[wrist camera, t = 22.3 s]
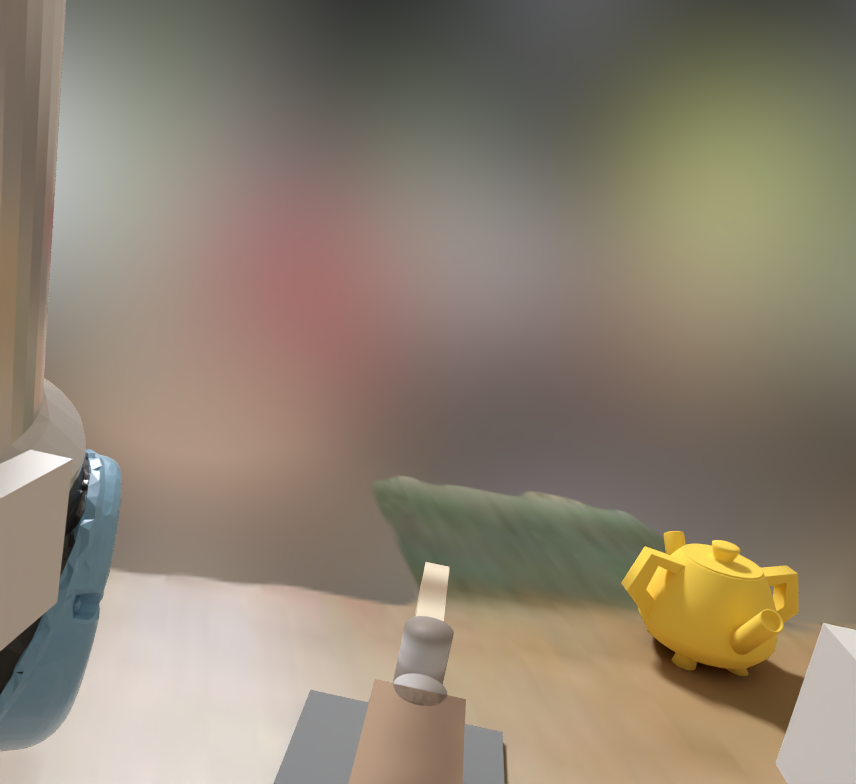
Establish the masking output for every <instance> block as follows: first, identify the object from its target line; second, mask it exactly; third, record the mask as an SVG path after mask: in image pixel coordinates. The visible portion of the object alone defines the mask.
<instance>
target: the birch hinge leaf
mask: <svg viewBox="0 0 856 784" xmlns="http://www.w3.org/2000/svg"><path fill="white" fill-rule="evenodd" d="M448 575H449V567H447V566H442V565H438V564H433V563H428V562H426V564H425V568H424V573H423V578H422V583H421V588H420V592H419V597H418V602H417V607H416V612H415V616H414V617H412V618H409V619H408V620H407V621H406V622H405V627H404V631H403V636H402V641H401V646H400V651H399V656H398V661H397V665H396V670H395V675H394V680H393V683H394V681H395V679H396V678H397V677H399V676H401V675H404V674H411V673H414V674H422V675H426V676H429V677H431V678H433V679H435V680H437V681H438V682H440V683H441V684H443V680H444V675H445V671H446V666H447V662H448V657H449V652H450V648H451V643H452V639H453V634H454V633H453V630H452V628H451V627H450V626H449V625H448V624H446V623H445V622H443V621H444V612H445V603H446V594H447V584H448Z"/></svg>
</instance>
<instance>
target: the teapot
mask: <svg viewBox="0 0 856 784" xmlns="http://www.w3.org/2000/svg"><path fill="white" fill-rule="evenodd" d="M664 541H665V550H666V554H665V553H662V552H659V551H656V550H654V549H651V548H648V547H644V549H643V550H642V552H641V553H640V555H639V556H638V558H637V559H636V561H635V563H634V564H633V566H632V567H631V569H630V570H629V572H628V573H627V575H626V576H625V578H624V579H623V581H622V585H623V586H624V588H625V589H626V590H627V592H628V593H629V595H630V596H631V597H632V599H633V600H634V601H635V603H636V604H637V605H638V609H639V612H640V615H641V617H642V619H643V621H644V623H645V625H646V627H647V629H648V632H649V633H650V634H651V635H653V636H654V637H655V638H656V639H657V640H658V641H659V642H660V643H662V644H663V645H665V646H666V647H668V648H669V649H671V650H673V651H674V652H675V654H674V656H673V657H672V659H671V660H672V662H673V663H674V664H675V665H676V666H678V667H680V668H682V669H685V670H695V669H696V665H697V662H700V663H703V664H706V665H710V666H714V667H718V668H725V669H727V670H728V671H730V672H732V673H734V674H736V675H740V676H747V675H748V670H747V668H749V667H751V666H754V665H756V664H758V663H760V662H762V661H764V660H766V659H767V658H769V657H770V656H771V655H772V653H773V652H774V650H775V647H776V643H777V634H778V633H779V632H781V631H782V630H783V628H784V622H785V621H787V620H788V619H790V618H791V617H793V616H794V615H796V614H797V613H798V573H797V572H795V571H793V570H792V569H791V568H789V567H788V566H777V567H766V568H760V567H759V566H758V565H756V564H755V563H754V562H752V561H750V560H749V559H747V558H745V557H743V556H741V555H739V553H740V551H741V550H740V549H739V548H738V547H737V546H736V545H734V544H732V543H729V542H726V541H721V540H714V541H712V546H710V545H704V544H688V545H686V544H685V538H684V533H683V532H681V531H670V532H666V533H664ZM773 585H774V595H773V596H772V593H771V590H770V587H769V586H773Z"/></svg>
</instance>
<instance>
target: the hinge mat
mask: <svg viewBox="0 0 856 784" xmlns="http://www.w3.org/2000/svg"><path fill="white" fill-rule="evenodd" d="M368 704H369V703H368V702H363V701H359V700H354V699H350V698H345V697H341V696H336V695H332V694H327V693H323V692H318V691H314V690H310V693H309V695H308V698H307V700H306V703H305V705H304V708H303V711H302V713H301V716H300V718H299V721H298V723H297V726H296V728H295V731H294V733H293V736H292V738H291V741H290V744H289V746H288V749H287V751H286V754H285V756H284V759H283V761H282V764H281V766H280V769H279V771H278V774H277V776H276V779H275V782H274V784H348V783H349V779H350V775H351V771H352V767H353V764H354V760H355V756H356V752H357V748H358V744H359V740H360V736H361V732H362V728H363V724H364V720H365V716H366V712H367V708H368ZM462 784H504V759H503V734H502V732H499V731H495V730H490V729H486V728H481V727H477V726H472V725H468V724H465V732H464V757H463V783H462Z"/></svg>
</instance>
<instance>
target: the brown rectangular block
mask: <svg viewBox="0 0 856 784" xmlns="http://www.w3.org/2000/svg"><path fill="white" fill-rule="evenodd" d="M465 706H466V699H462V698H458V697H453V696H448V695H447V691H446V689H445V687H444V686H443V685H442V684H441V683H440V682H438V681H437V680H435V679H433V678H431V677H429V676H426V675H422V674H414V673H411V674H404V675H401V676H399V677H397V678H396V679H395V681H394V683H389V682H385V681H380V680H375V681H374V685H373V689H372V692H371V696H370V700H369V704H368V708H367V712H366V716H365V720H364V724H363V728H362V732H361V736H360V740H359V744H358V748H357V752H356V756H355V760H354V764H353V767H352V771H351V775H350V779H349V783H348V784H462V783H463V757H464V732H465Z"/></svg>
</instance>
